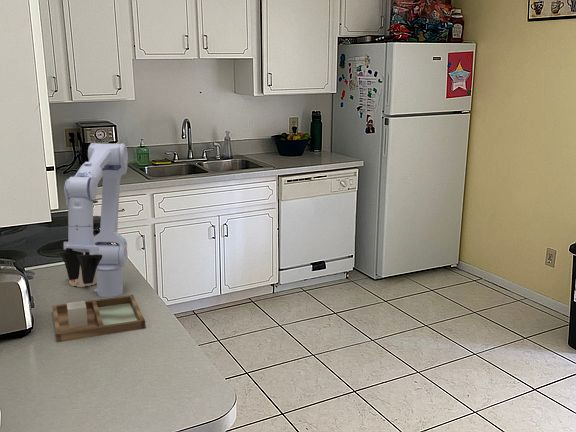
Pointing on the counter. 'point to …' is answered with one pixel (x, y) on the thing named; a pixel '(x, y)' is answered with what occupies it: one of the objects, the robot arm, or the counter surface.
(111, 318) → the sorting tray
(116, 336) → the counter surface
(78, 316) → the stone block
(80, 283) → the teacup with lid
